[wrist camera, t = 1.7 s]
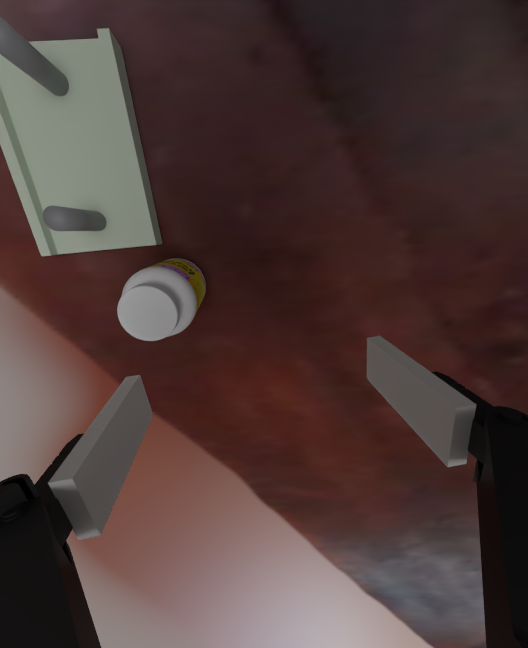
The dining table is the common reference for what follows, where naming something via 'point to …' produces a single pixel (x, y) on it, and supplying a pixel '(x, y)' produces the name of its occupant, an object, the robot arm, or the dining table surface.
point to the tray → (74, 144)
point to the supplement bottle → (161, 299)
